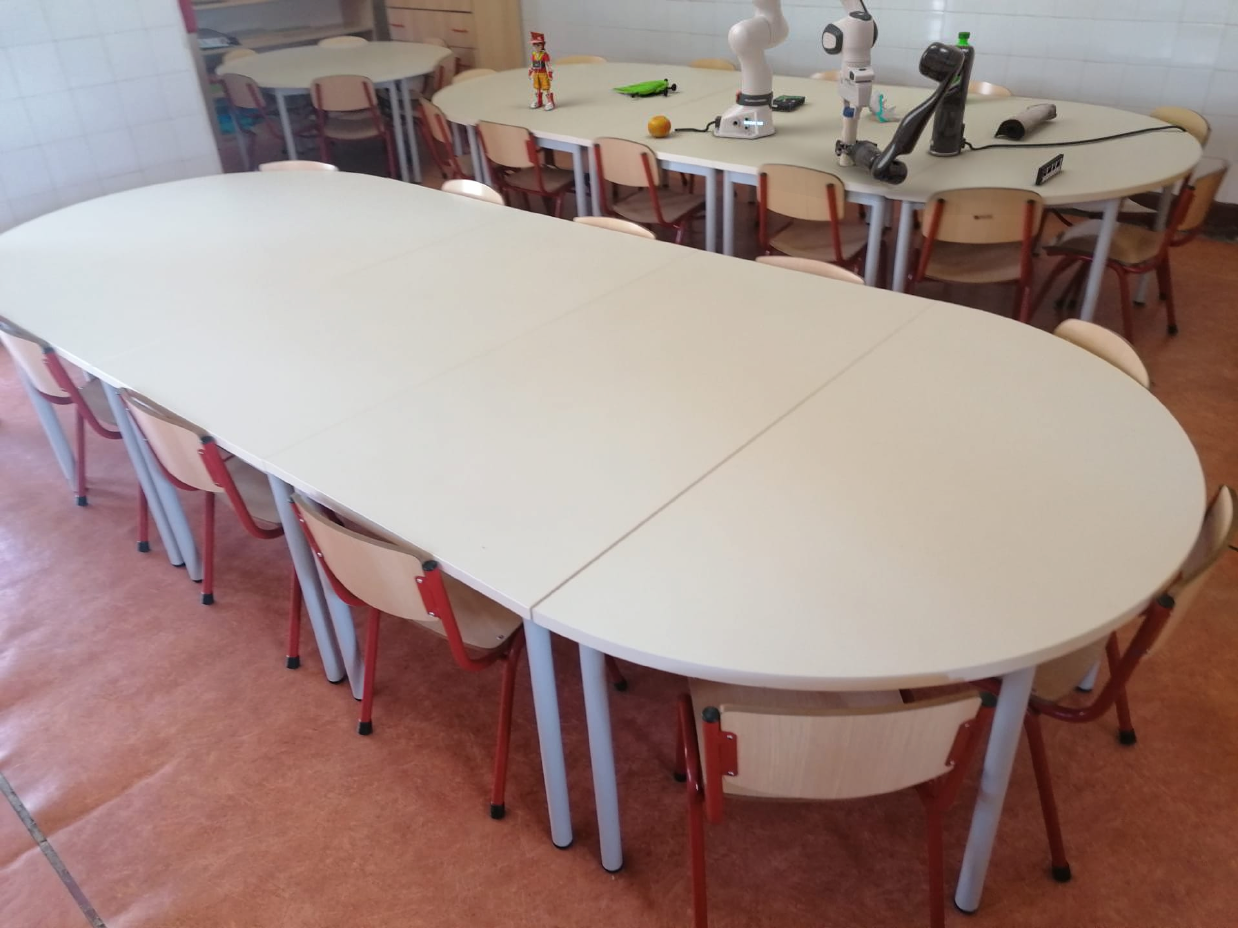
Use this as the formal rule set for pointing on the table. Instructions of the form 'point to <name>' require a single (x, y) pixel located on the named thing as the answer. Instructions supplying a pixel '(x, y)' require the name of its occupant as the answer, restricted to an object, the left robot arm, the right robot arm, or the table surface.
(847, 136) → the jar
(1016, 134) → the rolled mat
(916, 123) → the right robot arm
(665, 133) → the fruit
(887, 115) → the anatomical model
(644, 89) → the toy
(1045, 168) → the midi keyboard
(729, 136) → the left robot arm
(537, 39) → the toy
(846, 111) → the lid
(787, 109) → the disk drive
